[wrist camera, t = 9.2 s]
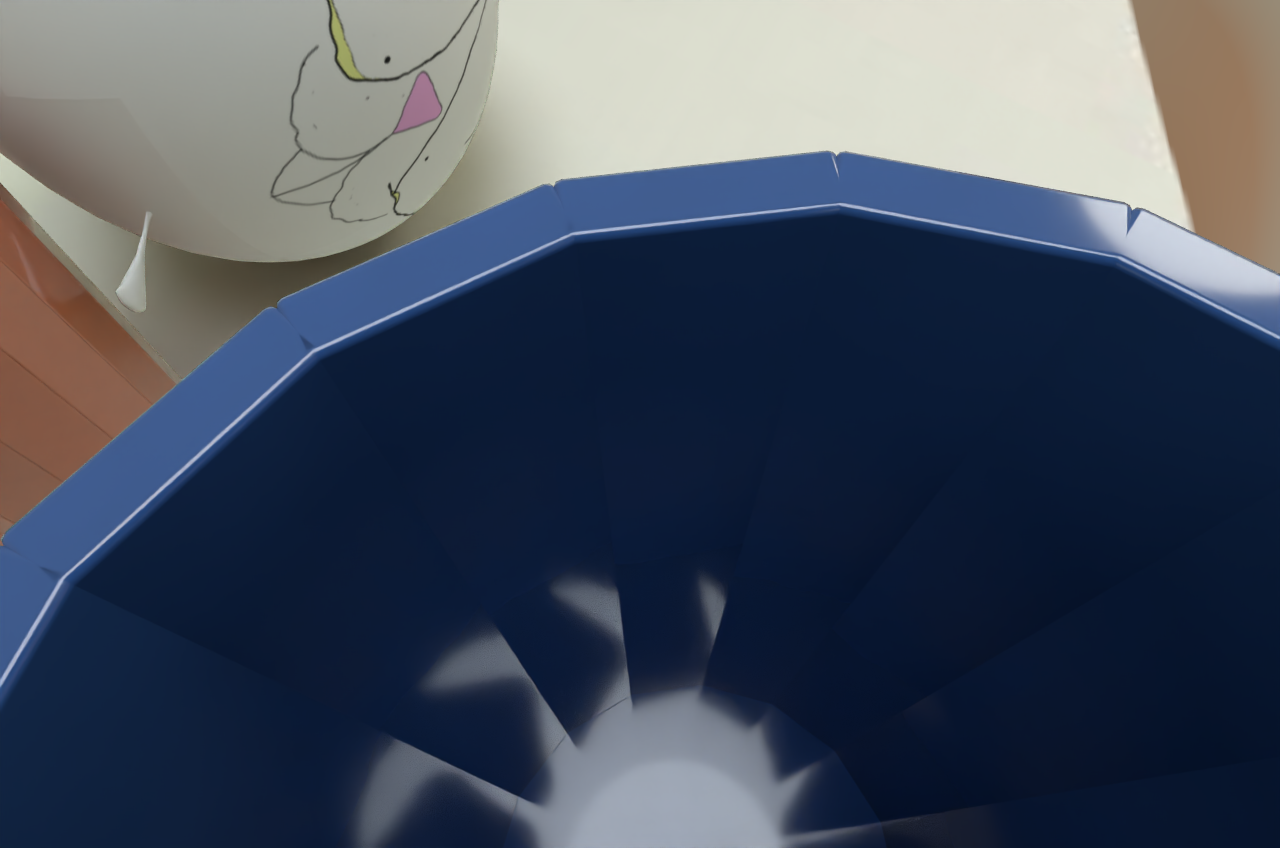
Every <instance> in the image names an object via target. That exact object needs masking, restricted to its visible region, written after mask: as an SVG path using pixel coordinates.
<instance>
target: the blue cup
mask: <svg viewBox="0 0 1280 848" xmlns="http://www.w3.org/2000/svg"><path fill="white" fill-rule="evenodd" d="M1 541H2V544H3V546H0V848H1280V274H1279V273H1277V272H1275V271H1273V270H1271V269H1269V268H1267V267H1264V266H1262V265H1260V264H1258V263H1256V262H1254V261H1252V260H1250V259H1248V258H1246V257H1244V256H1241V255H1239V254H1237V253H1235V252H1233V251H1231V250H1229V249H1227V248H1225V247H1223V246H1221V245H1219V244H1216V243H1214V242H1212V241H1210V240H1208V239H1206V238H1204V237H1202V236H1200V235H1197V234H1196V233H1194V232H1191V231H1189V230H1187V229H1185V228H1183V227H1181V226H1179V225H1177V224H1175V223H1173V222H1171V221H1169V220H1166V219H1164V218H1162V217H1160V216H1158V215H1156V214H1154V213H1152V212H1150V211H1148V210H1146V209H1143V208H1135V209H1134V210H1132V209H1131V207H1130V205H1128V204H1126V203H1125V202H1120V201H1115V200H1109V199H1104V198H1098V197H1093V196H1087V195H1082V194H1076V193H1071V192H1065V191H1060V190H1054V189H1049V188H1044V187H1038V186H1033V185H1027V184H1022V183H1016V182H1011V181H1005V180H1000V179H994V178H989V177H983V176H978V175H972V174H967V173H962V172H956V171H951V170H945V169H940V168H934V167H929V166H923V165H918V164H912V163H907V162H901V161H896V160H890V159H885V158H880V157H874V156H869V155H863V154H858V153H852V152H847V151H845V152H840V153H839V154H838V155H837V156H836V155H835V153H834V152H831V151H819V152H810V153H801V154H792V155H782V156H773V157H764V158H755V159H746V160H736V161H727V162H718V163H709V164H699V165H690V166H681V167H672V168H662V169H653V170H644V171H635V172H625V173H616V174H607V175H598V176H589V177H579V178H570V179H561V180H559V181H557V182H556V183H555V185H554V187H553V186H552V185H550V184H543V185H540V186H538V187H536V188H533V189H531V190H529V191H527V192H524V193H522V194H520V195H517V196H515V197H513V198H510V199H508V200H506V201H504V202H501V203H499V204H497V205H494V206H492V207H490V208H487V209H485V210H483V211H481V212H478V213H476V214H474V215H471V216H469V217H467V218H464V219H462V220H460V221H458V222H455V223H453V224H451V225H448V226H446V227H444V228H441V229H439V230H437V231H435V232H432V233H430V234H428V235H425V236H423V237H421V238H418V239H416V240H414V241H412V242H409V243H407V244H405V245H402V246H400V247H398V248H395V249H393V250H391V251H389V252H386V253H384V254H382V255H379V256H377V257H375V258H372V259H370V260H368V261H366V262H363V263H361V264H359V265H356V266H354V267H352V268H349V269H347V270H345V271H343V272H340V273H338V274H336V275H333V276H331V277H329V278H326V279H324V280H322V281H320V282H317V283H315V284H313V285H310V286H308V287H306V288H303V289H301V290H299V291H297V292H294V293H292V294H290V295H287V296H285V297H283V298H281V299H280V300H279V301H278V302H277V308H275V307H271V306H270V307H268V308H265V309H264V310H262V311H261V312H260V313H259V314H258V315H257V316H255V317H254V318H253V319H252V320H251V321H250V322H248V323H247V324H246V325H245V326H244V327H243V328H241V329H240V330H239V331H238V332H237V333H236V334H234V335H233V336H232V337H231V338H230V339H229V340H228V341H226V342H225V343H224V344H223V345H222V346H221V347H219V348H218V349H217V350H216V351H215V352H214V353H212V354H211V355H210V356H209V357H208V358H207V359H205V360H204V361H203V362H202V363H201V364H200V365H198V366H197V367H196V368H195V369H194V370H193V371H192V372H190V373H189V374H188V375H187V376H186V377H185V378H183V379H182V380H181V381H180V382H179V383H178V384H176V385H175V386H174V387H173V388H172V389H171V390H169V391H168V392H167V393H166V394H165V395H164V396H162V397H161V398H160V399H159V400H158V401H157V402H156V403H154V404H153V405H152V406H151V407H150V408H149V409H147V410H146V411H145V412H144V413H143V414H142V415H140V416H139V417H138V418H137V419H136V420H135V421H133V422H132V423H131V424H130V425H129V426H128V427H126V428H125V429H124V430H123V431H122V432H121V433H120V434H118V435H117V436H116V437H115V438H114V439H113V440H111V441H110V442H109V443H108V444H107V445H106V446H104V447H103V448H102V449H101V450H100V451H99V452H97V453H96V454H95V455H94V456H93V457H92V458H90V459H89V460H88V461H87V462H86V463H85V464H83V465H82V466H81V467H80V468H79V469H78V470H77V471H75V472H74V473H73V474H72V475H71V476H70V477H68V478H67V479H66V480H65V481H64V482H63V483H61V484H60V485H59V486H58V487H57V488H56V489H54V490H53V491H52V492H51V493H50V494H49V495H47V496H46V497H45V498H44V499H43V500H42V501H41V502H39V503H38V504H37V505H36V506H35V507H34V508H32V509H31V510H30V511H29V512H28V513H27V514H25V515H24V516H23V517H22V518H21V519H20V520H18V521H17V522H16V523H15V524H14V525H13V526H11V527H10V528H9V529H8V530H7V531H6V532H5V533H4V535H3V536H2V538H1Z"/></svg>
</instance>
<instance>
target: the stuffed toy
mask: <svg viewBox="0 0 1280 848" xmlns="http://www.w3.org/2000/svg"><path fill="white" fill-rule="evenodd" d="M498 5H499V0H0V153H2V154H3V155H4V156H5V157H7V158H8V159H9V160H11V161H12V162H13V163H15V164H16V165H17V166H19V167H20V168H21V169H23V170H24V171H26V172H27V173H28V174H30V175H31V176H32V177H34V178H35V179H36V180H38V181H39V182H41V183H42V184H43V185H45V186H46V187H47V188H49V189H51V190H52V191H54V192H56V193H57V194H59V195H61V196H62V197H64V198H66V199H67V200H69V201H71V202H72V203H74V204H75V205H77V206H79V207H81V208H83V209H84V210H86V211H88V212H90V213H91V214H93V215H95V216H97V217H99V218H101V219H103V220H105V221H107V222H109V223H112V224H114V225H116V226H118V227H120V228H122V229H125V230H127V231H129V232H132V233H134V234H136V235H139V236H141V239H140V242H139V246H138V249H137V252H136V254H135V257H134V259H133V261H132V263H131V265H130V267H129V269H128V271H127V273H126V274H125V276H124V278H123V280H122V283H121V284H120V286H119V287H118V288H117V290H116V295H117V297H118V298H119V300H120V302H121V303H122V304H123V305H124V306H125V307H126V308H128V309H129V310H131V311H133V312H143V311H145V309H146V283H145V247H146V239H149V240H152V241H155V242H158V243H161V244H164V245H168V246H171V247H174V248H178V249H181V250H184V251H188V252H191V253H195V254H200V255H206V256H212V257H217V258H223V259H229V260H236V261H250V262H288V261H301V260H307V259H313V258H319V257H325V256H329V255H333V254H336V253H340V252H343V251H347V250H349V249H352V248H355V247H358V246H360V245H363V244H365V243H367V242H370V241H372V240H374V239H376V238H378V237H380V236H382V235H384V234H385V233H387V232H389V231H391V230H392V229H394V228H395V227H397V226H398V225H400V224H401V223H403V222H404V221H405V220H407V219H408V218H409V217H411V216H412V215H413V214H414V213H416V212H417V211H418V210H419V209H420V208H422V207H423V206H424V205H425V204H426V203H427V202H428V201H429V200H430V199H431V198H432V197H433V196H434V195H435V194H436V192H437V191H438V190H439V189H440V188H441V187H442V186H443V184H444V183H445V182H446V180H447V179H448V178H449V176H450V175H451V174H452V173H453V171H454V169H455V168H456V166H457V165H458V163H459V162H460V160H461V158H462V157H463V155H464V153H465V152H466V150H467V148H468V146H469V144H470V141H471V139H472V137H473V135H474V133H475V131H476V129H477V127H478V124H479V121H480V118H481V115H482V112H483V109H484V106H485V103H486V100H487V97H488V94H489V89H490V84H491V79H492V74H493V68H494V62H495V57H496V51H497V36H498Z"/></svg>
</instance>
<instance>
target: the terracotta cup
mask: <svg viewBox="0 0 1280 848" xmlns="http://www.w3.org/2000/svg"><path fill="white" fill-rule="evenodd" d="M181 380H182V378H181V377H180V376H179V375H178V374H177V373H176V372H175V371H174V370H173V369H172V368H171V366H170V365H169V364H168V363H167V362H166V361H165V360H164V359H163V358H162V357H161V356H160V355H159V354H158V352H157V351H156V350H155V349H154V348H153V347H152V346H151V345H150V344H149V343H148V342H147V341H146V339H145V338H144V337H143V336H142V335H141V334H140V333H139V332H138V331H137V330H136V329H135V328H134V327H133V325H132V324H131V323H130V322H129V321H128V320H127V319H126V318H125V317H124V316H123V315H122V314H121V313H120V311H119V310H118V309H117V308H116V307H115V306H114V305H113V304H112V303H111V302H110V301H109V300H108V298H107V297H106V296H105V295H104V294H103V293H102V292H101V291H100V290H99V289H98V288H97V287H96V286H95V284H94V283H93V282H92V281H91V280H90V279H89V278H88V277H87V276H86V275H85V274H84V273H83V271H82V270H81V269H80V268H79V267H78V266H77V265H76V264H75V263H74V262H73V261H72V260H71V259H70V257H69V256H68V255H67V254H66V253H65V252H64V251H63V250H62V249H61V248H60V247H59V246H58V245H57V243H56V242H55V241H54V240H53V239H52V238H51V237H50V236H49V235H48V234H47V233H46V232H45V230H44V229H43V228H42V227H41V226H40V225H39V224H38V223H37V222H36V221H35V220H34V219H33V218H32V216H31V215H30V214H29V213H28V212H27V211H26V210H25V209H24V208H23V207H22V206H21V205H20V204H19V202H18V201H17V200H16V199H15V198H14V197H13V196H12V195H11V194H10V193H9V192H8V191H7V189H6V188H5V187H4V186H3V185H2V184H1V183H0V546H3V544H2V541H1V538H2V536H3V535H4V533H5V532H6V531H7V530H8V529H9V528H10V527H11V526H13V525H14V524H15V523H16V522H17V521H18V520H20V519H21V518H22V517H23V516H24V515H25V514H27V513H28V512H29V511H30V510H31V509H32V508H34V507H35V506H36V505H37V504H38V503H39V502H41V501H42V500H43V499H44V498H45V497H46V496H47V495H49V494H50V493H51V492H52V491H53V490H54V489H56V488H57V487H58V486H59V485H60V484H61V483H63V482H64V481H65V480H66V479H67V478H68V477H70V476H71V475H72V474H73V473H74V472H75V471H77V470H78V469H79V468H80V467H81V466H82V465H83V464H85V463H86V462H87V461H88V460H89V459H90V458H92V457H93V456H94V455H95V454H96V453H97V452H99V451H100V450H101V449H102V448H103V447H104V446H106V445H107V444H108V443H109V442H110V441H111V440H113V439H114V438H115V437H116V436H117V435H118V434H120V433H121V432H122V431H123V430H124V429H125V428H126V427H128V426H129V425H130V424H131V423H132V422H133V421H135V420H136V419H137V418H138V417H139V416H140V415H142V414H143V413H144V412H145V411H146V410H147V409H149V408H150V407H151V406H152V405H153V404H154V403H156V402H157V401H158V400H159V399H160V398H161V397H162V396H164V395H165V394H166V393H167V392H168V391H169V390H171V389H172V388H173V387H174V386H175V385H176V384H178V383H179V382H180V381H181Z"/></svg>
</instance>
